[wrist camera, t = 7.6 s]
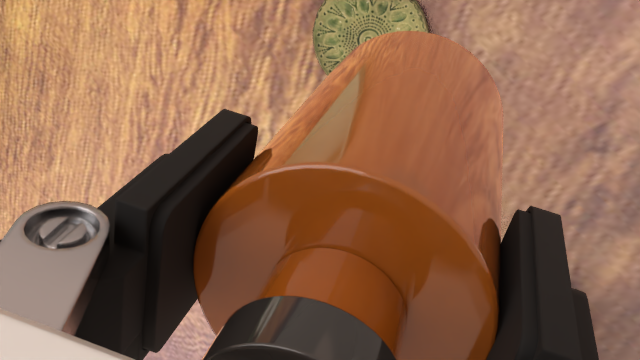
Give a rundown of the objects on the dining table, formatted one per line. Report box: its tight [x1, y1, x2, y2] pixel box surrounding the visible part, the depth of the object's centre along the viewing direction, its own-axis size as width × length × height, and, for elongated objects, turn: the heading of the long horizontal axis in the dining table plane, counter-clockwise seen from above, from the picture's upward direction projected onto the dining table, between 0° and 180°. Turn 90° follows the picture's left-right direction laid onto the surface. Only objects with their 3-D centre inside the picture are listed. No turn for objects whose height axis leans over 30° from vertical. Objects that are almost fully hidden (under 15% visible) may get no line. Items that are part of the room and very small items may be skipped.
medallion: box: [313, 0, 429, 76], centre depth 40 cm, size 8×8×1 cm
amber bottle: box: [193, 31, 503, 360], centre depth 12 cm, size 5×5×11 cm
